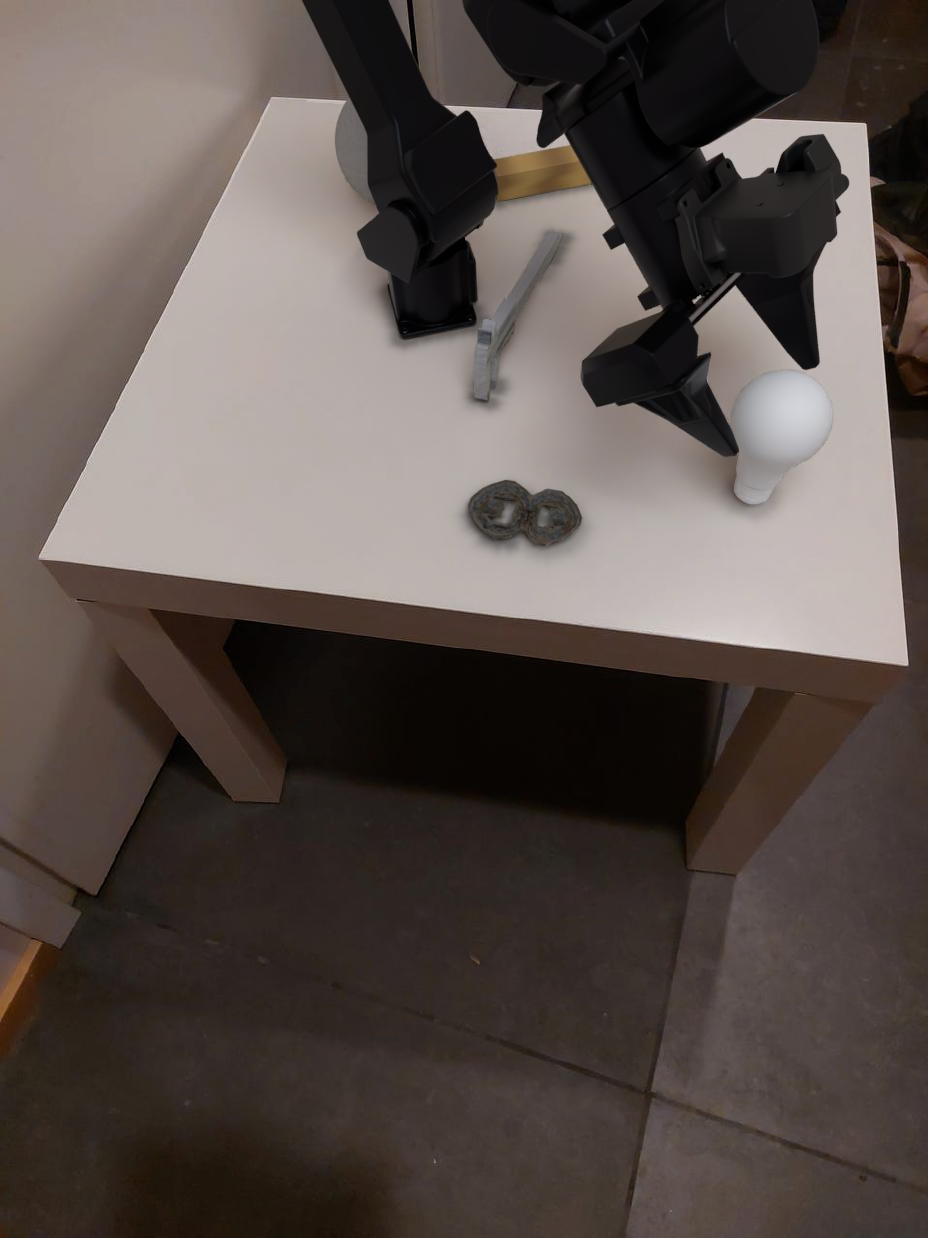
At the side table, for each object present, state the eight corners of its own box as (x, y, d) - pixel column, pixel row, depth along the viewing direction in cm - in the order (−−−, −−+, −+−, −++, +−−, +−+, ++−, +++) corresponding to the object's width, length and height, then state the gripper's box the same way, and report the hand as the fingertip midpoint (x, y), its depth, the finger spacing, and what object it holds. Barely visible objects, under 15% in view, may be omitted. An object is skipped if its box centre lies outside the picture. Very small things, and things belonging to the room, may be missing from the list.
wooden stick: (497, 201, 77) (497, 176, 75) (491, 185, 78) (490, 159, 76) (614, 179, 77) (617, 153, 75) (606, 163, 79) (608, 137, 76)
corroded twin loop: (573, 559, 58) (574, 550, 57) (460, 538, 59) (459, 529, 58) (587, 501, 60) (588, 492, 59) (478, 482, 62) (477, 473, 61)
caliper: (487, 406, 65) (485, 344, 60) (474, 403, 65) (471, 341, 60) (563, 237, 74) (567, 169, 69) (551, 235, 74) (554, 167, 69)
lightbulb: (687, 491, 60) (720, 379, 51) (747, 449, 62) (790, 332, 52) (751, 547, 58) (798, 440, 48) (812, 501, 59) (870, 388, 50)
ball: (340, 172, 80) (319, 60, 71) (444, 156, 80) (436, 43, 72) (351, 240, 75) (330, 129, 67) (461, 223, 76) (455, 111, 67)
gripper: (651, 211, 37) (802, 494, 43) (866, 23, 43) (973, 291, 49) (513, 285, 47) (651, 507, 52) (705, 122, 53) (810, 337, 58)
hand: (773, 410), depth 53 cm, fingers open, 9 cm apart
